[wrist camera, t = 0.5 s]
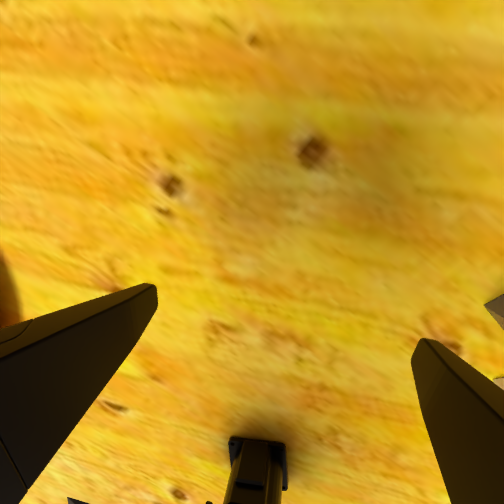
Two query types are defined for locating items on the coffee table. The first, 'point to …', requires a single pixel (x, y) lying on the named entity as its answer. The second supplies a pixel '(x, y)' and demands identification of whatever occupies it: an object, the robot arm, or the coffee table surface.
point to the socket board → (499, 382)
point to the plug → (497, 309)
